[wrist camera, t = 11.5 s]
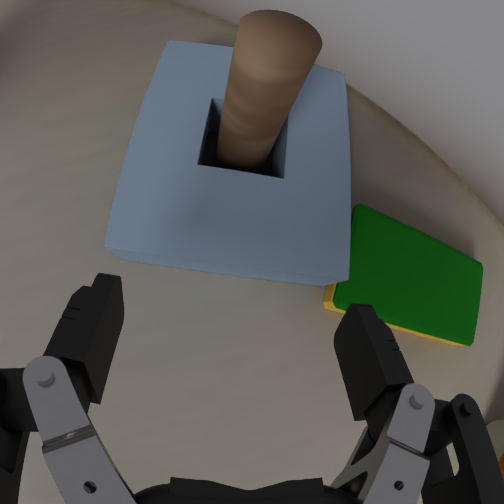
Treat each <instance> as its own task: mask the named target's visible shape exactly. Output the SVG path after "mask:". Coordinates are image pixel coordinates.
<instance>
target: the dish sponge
mask: <svg viewBox="0 0 504 504" xmlns="http://www.w3.org/2000/svg"><path fill="white" fill-rule="evenodd" d="M482 276H483V266H482V264H481V263H480V262H478V261H476V260H475V259H473V258H471V257H469V256H467V255H465V254H464V253H462V252H460V251H458V250H456V249H454V248H452V247H450V246H448V245H446V244H445V243H443V242H441V241H439V240H437V239H435V238H433V237H431V236H429V235H427V234H425V233H423V232H421V231H419V230H416V229H414V228H412V227H410V226H408V225H406V224H404V223H402V222H400V221H398V220H395V219H393V218H391V217H389V216H387V215H385V214H382V213H380V212H378V211H376V210H374V209H371V208H369V207H367V206H364V205H362V204H359V205H357V206H355V207H353V208H352V209H351V236H350V264H349V280H346V281H342V282H338V283H333V284H329V285H327V287H326V291H325V295H324V298H323V304H324V306H325V308H326V309H329V310H332V311H336V312H339V313H342V314H345V312H346V310H347V308H348V307H349V305H350V304H352V303H357V304H370V305H372V306H373V308H374V310H375V312H376V314H377V316H378V318H379V319H382V320H383V321H384V322H385V323H386V324H387V325H388V327H391V328H394V329H398V330H401V331H405V332H408V333H412V334H416V335H419V336H423V337H427V338H430V339H434V340H438V341H441V342H445V343H449V344H453V345H463V346H465V345H467V346H470V345H471V344H472V343H473V341H474V335H475V330H476V324H477V318H478V311H479V304H480V296H481V287H482Z"/></svg>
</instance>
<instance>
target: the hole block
mask: <svg viewBox="0 0 504 504" xmlns="http://www.w3.org/2000/svg"><path fill="white" fill-rule="evenodd" d="M233 49H234V47H227V46H220V45H212V44H204V43H195V42H184V41H170V40H168V41H167V44H166V46H165V48H164V50H163V53H162V55H161V57H160V60H159V62H158V64H157V67H156V69H155V72H154V74H153V77H152V79H151V82H150V84H149V87H148V90H147V92H146V95H145V98H144V100H143V103H142V106H141V109H140V111H139V114H138V117H137V120H136V123H135V126H134V129H133V132H132V135H131V139H130V142H129V145H128V148H127V152H126V155H125V158H124V162H123V165H122V169H121V173H120V176H119V180H118V184H117V188H116V192H115V196H114V200H113V204H112V208H111V213H110V217H109V222H108V226H107V231H106V236H105V241H104V246H103V247H105V248H106V249H107V250H109V251H110V252H111V253H113V254H114V255H116V256H117V257H118V258H120V259H121V260H127V261H134V262H141V263H147V264H154V265H161V266H168V267H175V268H182V269H189V270H196V271H203V272H211V273H218V274H226V275H233V276H241V277H249V278H256V279H264V280H272V281H281V282H289V283H297V284H306V285H314V286H325V285H329V284H333V283H338V282H342V281H346V280H349V264H350V236H351V164H350V137H349V119H348V104H347V91H346V80H345V74H343V73H340V72H337V71H334V70H330V69H327V68H323V67H320V66H317V65H313V66H312V68H311V70H310V72H309V74H308V76H307V78H306V80H305V82H304V84H303V86H302V88H301V90H300V92H299V94H298V96H297V98H296V100H295V102H294V104H293V106H292V108H291V110H290V112H289V114H288V116H287V118H286V120H285V122H284V124H283V126H282V128H281V130H280V132H279V135H278V137H277V139H276V141H275V143H274V147H273V158H272V168H271V176H266V175H260V174H254V173H248V172H242V171H236V170H230V169H223V168H217V167H210V166H203V165H201V164H202V159H203V154H204V149H205V144H206V139H207V134H208V131H211V132H218V133H219V128H220V122H221V116H222V110H223V104H224V98H225V92H226V86H227V81H228V75H229V70H230V64H231V59H232V54H233Z"/></svg>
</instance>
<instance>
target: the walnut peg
mask: <svg viewBox="0 0 504 504" xmlns="http://www.w3.org/2000/svg"><path fill="white" fill-rule="evenodd" d="M321 48H322V40H321V37H320V35H319V33H318V32H317V30H316V29H315V28H314V27H313V26H312V25H310V24H309V23H308V22H306V21H305V20H303V19H301V18H300V17H297V16H295V15H293V14H290V13H287V12H283V11H277V10H259V11H254V12H251V13H249V14H247V15H245V16H244V17H243V18H241V20H240V22H239V24H238V29H237V34H236V38H235V44H234V49H233V54H232V59H231V64H230V70H229V75H228V81H227V86H226V92H225V98H224V104H223V110H222V116H221V122H220V128H219V135H218V141H217V148H216V154H215V161H214V167H217V168H223V169H230V170H236V171H242V172H248V173H254V174H260V172H261V170H262V168H263V166H264V164H265V162H266V159H267V157H268V155H269V153H270V151H271V149H272V147H273V145H274V143H275V141H276V139H277V137H278V135H279V132H280V130H281V128H282V126H283V124H284V122H285V120H286V118H287V116H288V114H289V112H290V110H291V108H292V106H293V104H294V102H295V100H296V98H297V96H298V94H299V92H300V90H301V88H302V86H303V84H304V82H305V80H306V78H307V76H308V74H309V72H310V70H311V68H312V66H313V64H314V62H315V60H316V58H317V56H318V54H319V52H320V50H321Z"/></svg>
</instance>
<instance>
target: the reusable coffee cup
mask: <svg viewBox="0 0 504 504" xmlns="http://www.w3.org/2000/svg"><path fill="white" fill-rule="evenodd" d="M486 428H487V430H488V433H489V436H490V439H491V442H492V445H493V447H494V450H495V454H496V457H497V460H498V463H499V466H500V469H501V473H502V476H503V480H504V420H494V421H492V422H491V423H489V424H488V425H487V426H486Z"/></svg>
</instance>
